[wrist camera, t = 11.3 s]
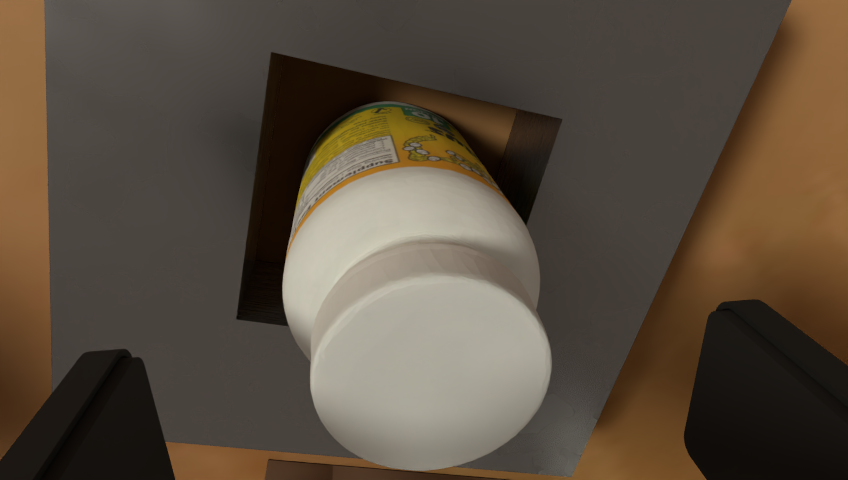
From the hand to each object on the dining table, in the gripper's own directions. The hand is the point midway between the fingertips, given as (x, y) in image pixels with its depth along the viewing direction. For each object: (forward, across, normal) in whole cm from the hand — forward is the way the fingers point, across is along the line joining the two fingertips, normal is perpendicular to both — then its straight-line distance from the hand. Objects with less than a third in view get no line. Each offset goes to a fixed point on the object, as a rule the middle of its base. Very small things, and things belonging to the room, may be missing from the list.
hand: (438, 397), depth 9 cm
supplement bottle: (+10, 0, -1) cm, 10 cm away
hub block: (+9, 0, -1) cm, 9 cm away
